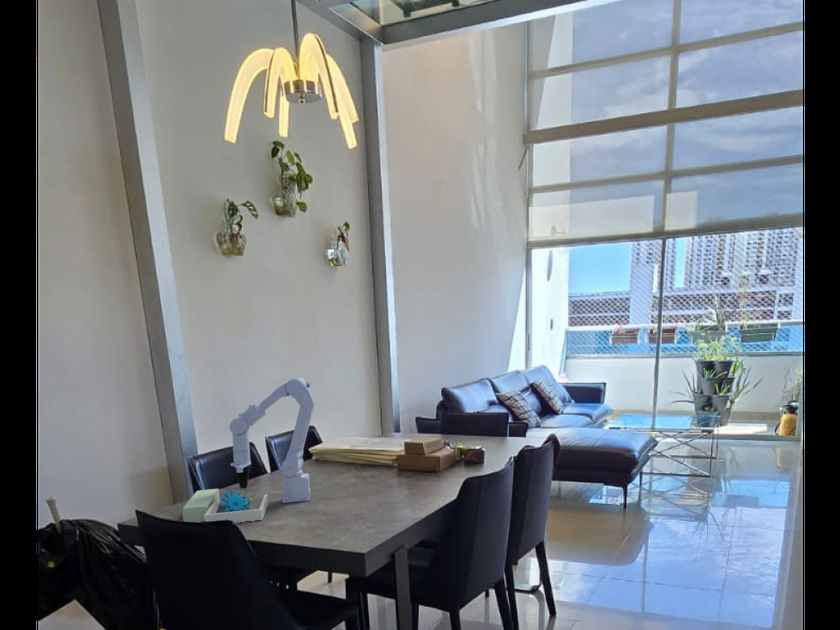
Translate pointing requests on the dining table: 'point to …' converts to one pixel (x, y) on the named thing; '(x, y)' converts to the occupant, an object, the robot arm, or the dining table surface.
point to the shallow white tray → (236, 513)
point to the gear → (235, 502)
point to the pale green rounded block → (199, 504)
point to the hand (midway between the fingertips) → (243, 488)
